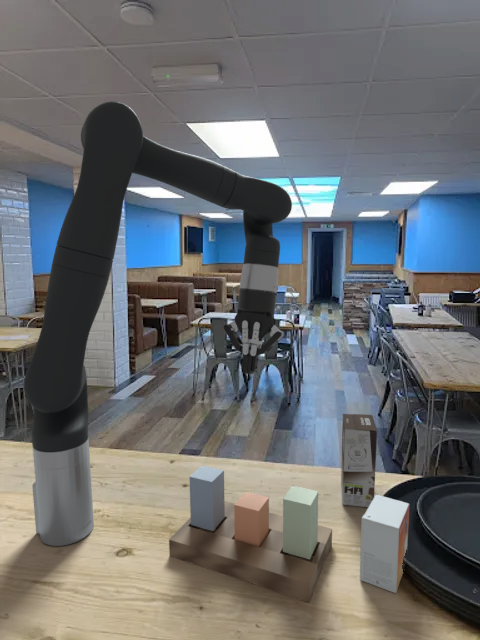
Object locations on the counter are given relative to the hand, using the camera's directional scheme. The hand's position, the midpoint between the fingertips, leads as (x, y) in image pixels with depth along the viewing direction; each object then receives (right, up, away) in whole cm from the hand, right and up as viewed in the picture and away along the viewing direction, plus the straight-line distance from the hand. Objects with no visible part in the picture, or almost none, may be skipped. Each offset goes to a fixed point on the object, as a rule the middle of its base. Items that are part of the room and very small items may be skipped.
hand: (249, 373), depth 89 cm
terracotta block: (0, -28, -14) cm, 32 cm away
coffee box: (+23, -26, +2) cm, 34 cm away
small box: (+21, -29, -20) cm, 41 cm away
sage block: (+8, -26, -19) cm, 33 cm away
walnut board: (0, -28, -14) cm, 32 cm away
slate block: (-7, -25, -11) cm, 28 cm away
